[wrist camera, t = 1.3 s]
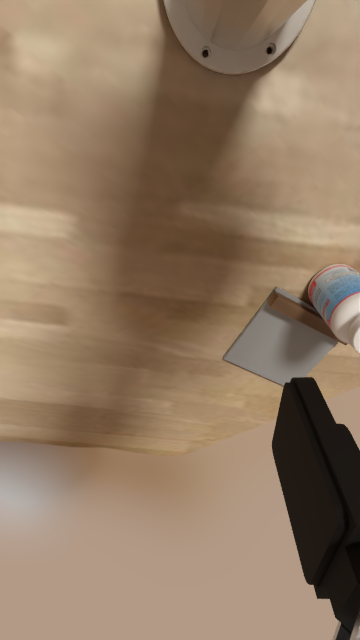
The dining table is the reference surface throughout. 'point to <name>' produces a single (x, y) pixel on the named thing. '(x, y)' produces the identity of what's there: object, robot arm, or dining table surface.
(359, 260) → the dining table surface
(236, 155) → the dining table surface
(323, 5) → the dining table surface
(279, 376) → the mat
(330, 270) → the pill bottle
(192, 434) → the dining table surface
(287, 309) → the stop bar
